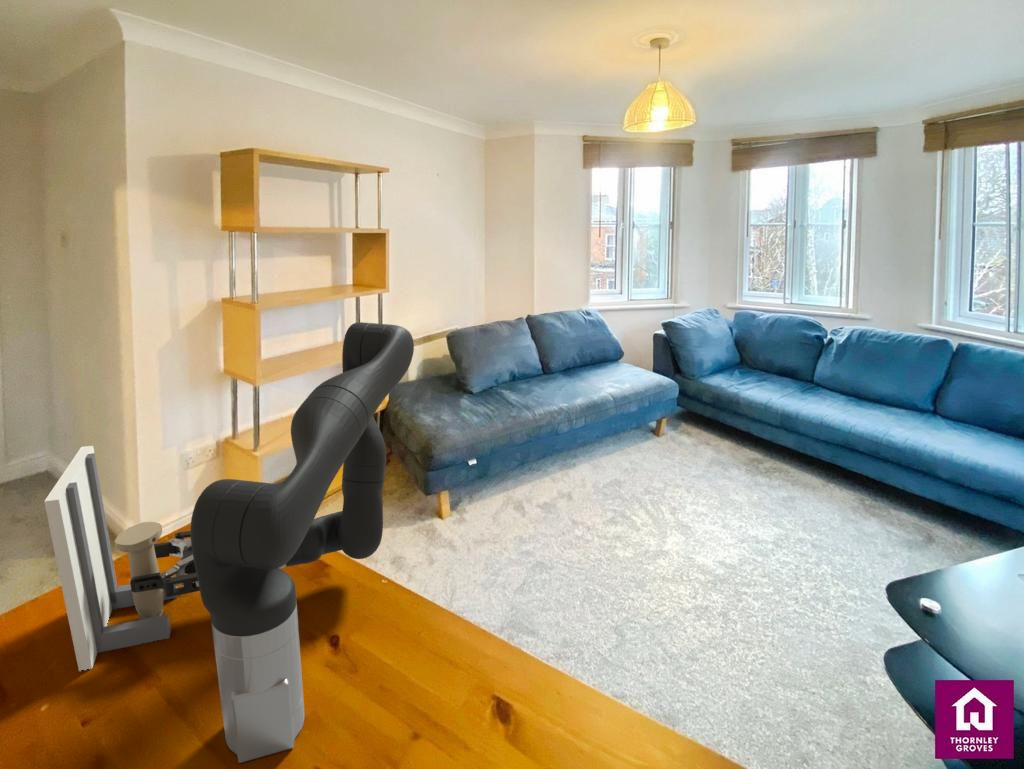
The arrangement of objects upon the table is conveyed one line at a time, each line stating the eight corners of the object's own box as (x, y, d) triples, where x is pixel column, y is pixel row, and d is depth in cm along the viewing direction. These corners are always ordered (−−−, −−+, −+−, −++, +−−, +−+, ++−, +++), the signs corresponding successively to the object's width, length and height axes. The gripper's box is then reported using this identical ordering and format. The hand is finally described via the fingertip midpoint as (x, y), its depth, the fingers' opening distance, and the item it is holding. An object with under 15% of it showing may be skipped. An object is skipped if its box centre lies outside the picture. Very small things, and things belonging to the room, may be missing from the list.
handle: (121, 629, 89) (106, 542, 85) (153, 603, 96) (140, 520, 91) (150, 634, 89) (136, 546, 84) (180, 607, 95) (168, 524, 91)
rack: (166, 653, 85) (141, 489, 78) (79, 671, 81) (44, 501, 74) (180, 580, 101) (160, 439, 94) (107, 593, 97) (81, 446, 90)
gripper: (252, 508, 100) (141, 523, 94) (251, 553, 88) (123, 574, 82) (255, 546, 103) (147, 564, 97) (255, 596, 90) (131, 619, 84)
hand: (136, 568), depth 89 cm, fingers open, 8 cm apart
